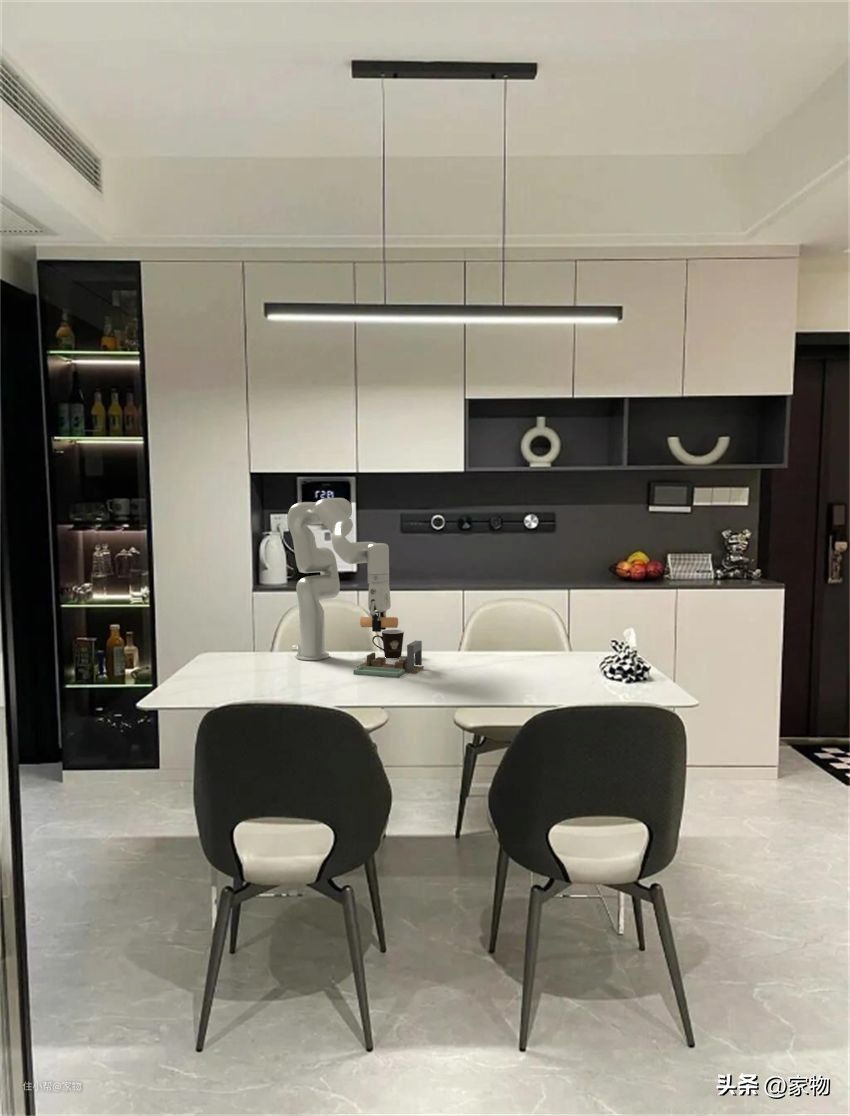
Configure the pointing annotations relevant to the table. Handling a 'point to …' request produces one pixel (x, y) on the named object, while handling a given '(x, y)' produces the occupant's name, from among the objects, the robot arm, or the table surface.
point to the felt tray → (379, 671)
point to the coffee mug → (391, 643)
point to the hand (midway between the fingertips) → (379, 630)
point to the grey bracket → (411, 649)
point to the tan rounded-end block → (385, 622)
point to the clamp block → (382, 663)
